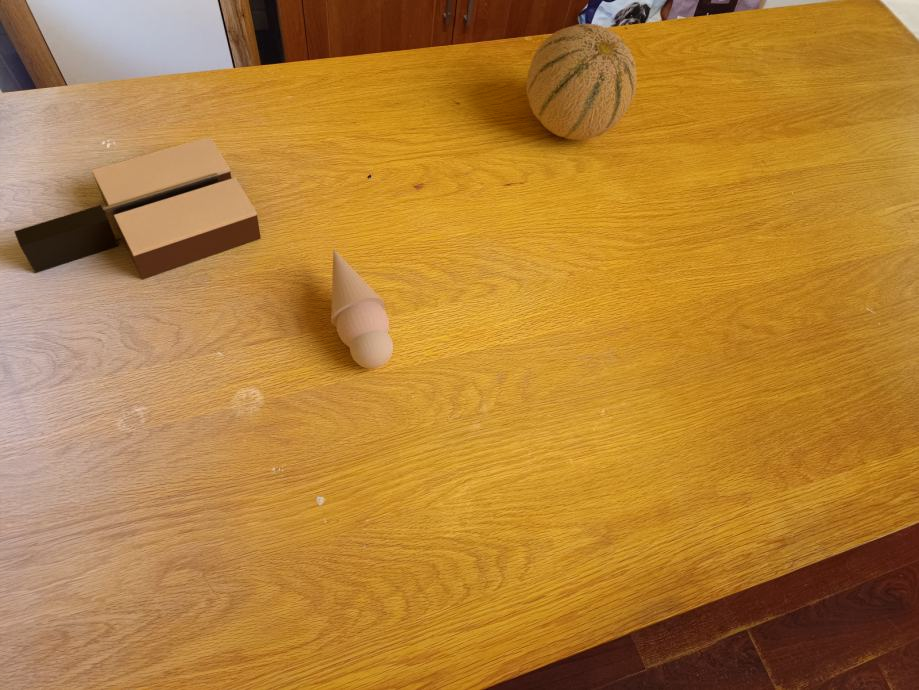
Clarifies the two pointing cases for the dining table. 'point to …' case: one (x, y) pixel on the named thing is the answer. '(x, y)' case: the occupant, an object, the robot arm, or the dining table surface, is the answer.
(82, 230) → the knife
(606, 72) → the cantaloupe
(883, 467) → the dining table surface
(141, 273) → the slotted tan block
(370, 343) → the ice cream cone
